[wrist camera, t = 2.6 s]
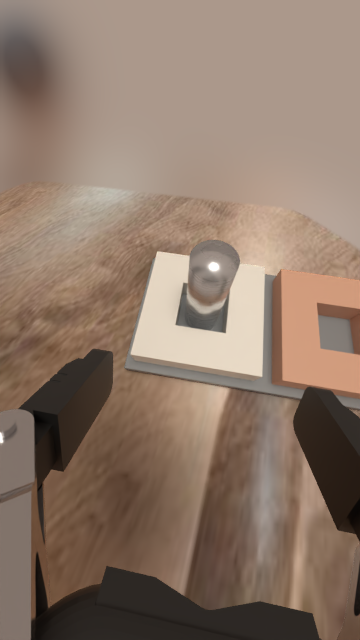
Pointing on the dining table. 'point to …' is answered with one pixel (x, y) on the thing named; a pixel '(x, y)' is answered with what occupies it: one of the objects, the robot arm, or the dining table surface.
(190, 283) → the steel pin
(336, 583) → the dining table surface
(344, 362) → the dock board
